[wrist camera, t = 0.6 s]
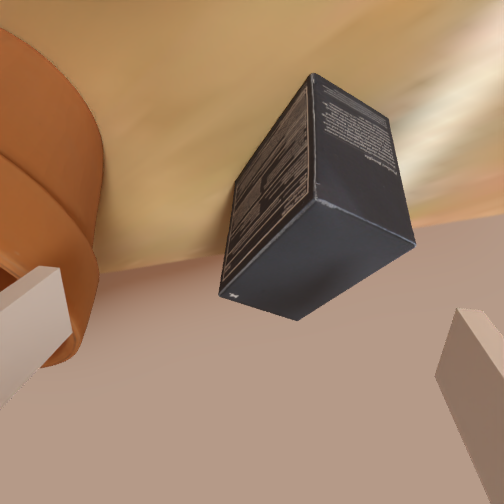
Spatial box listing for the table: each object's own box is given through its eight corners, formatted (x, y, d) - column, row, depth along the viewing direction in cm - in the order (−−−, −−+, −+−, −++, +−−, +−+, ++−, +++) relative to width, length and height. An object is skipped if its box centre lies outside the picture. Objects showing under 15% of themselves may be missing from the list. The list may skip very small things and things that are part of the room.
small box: (301, 212, 31) (298, 326, 25) (233, 181, 29) (211, 297, 23) (395, 119, 24) (424, 252, 17) (311, 67, 21) (309, 197, 15)
